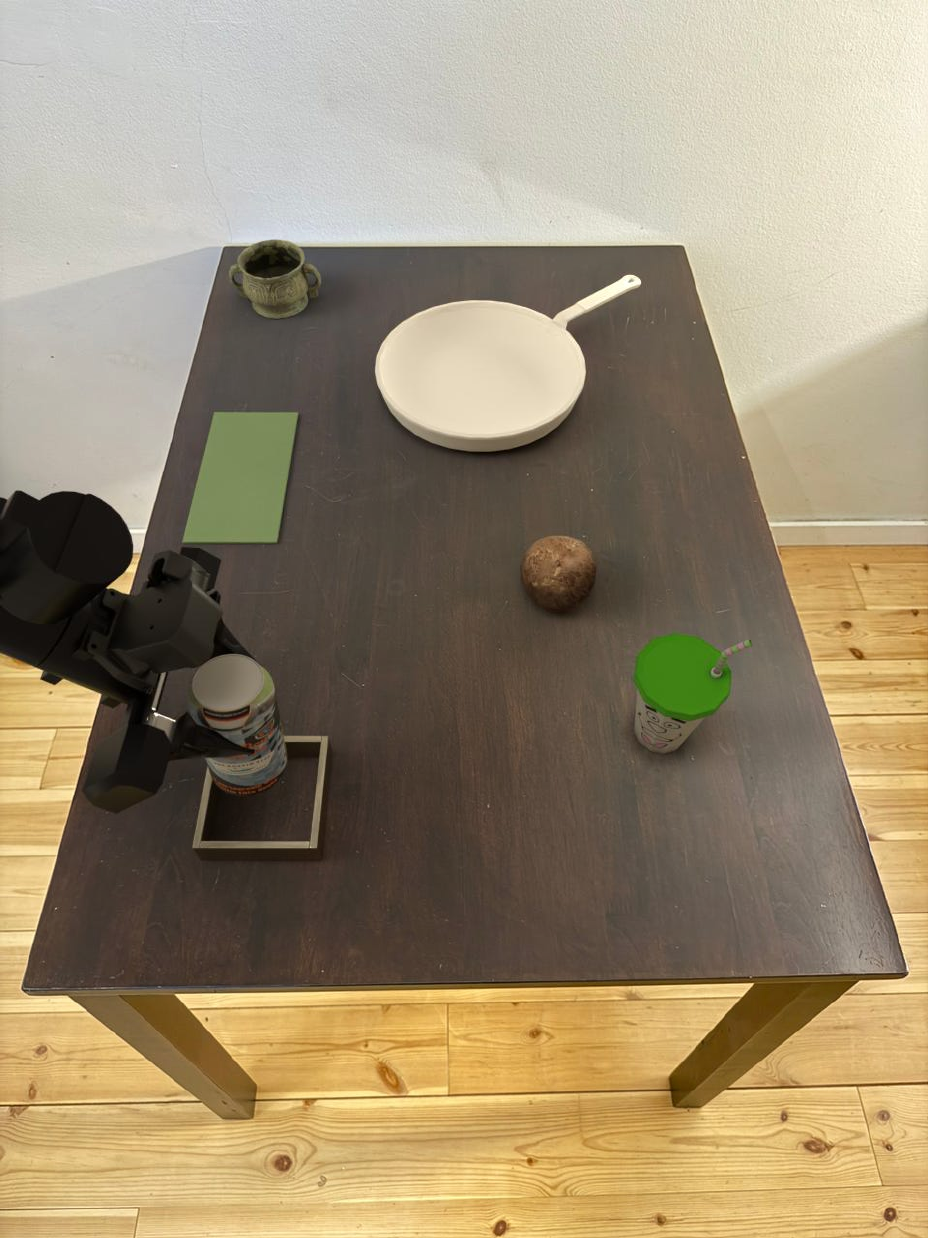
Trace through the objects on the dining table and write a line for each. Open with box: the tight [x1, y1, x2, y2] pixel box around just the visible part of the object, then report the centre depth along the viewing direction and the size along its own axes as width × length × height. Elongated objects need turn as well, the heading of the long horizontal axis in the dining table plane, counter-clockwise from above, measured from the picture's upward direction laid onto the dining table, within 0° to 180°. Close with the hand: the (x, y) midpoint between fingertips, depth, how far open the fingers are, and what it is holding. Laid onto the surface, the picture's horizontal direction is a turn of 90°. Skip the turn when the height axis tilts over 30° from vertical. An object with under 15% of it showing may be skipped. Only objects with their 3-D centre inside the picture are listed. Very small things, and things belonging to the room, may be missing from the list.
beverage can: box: [186, 654, 289, 797], centre depth 63 cm, size 6×7×12 cm
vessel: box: [228, 238, 322, 320], centre depth 111 cm, size 12×9×6 cm
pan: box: [374, 274, 642, 453], centre depth 104 cm, size 25×39×4 cm, turn 129°
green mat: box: [181, 411, 299, 545], centre depth 95 cm, size 10×20×1 cm, turn 0°
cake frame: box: [192, 735, 334, 861], centre depth 72 cm, size 10×10×3 cm
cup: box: [632, 632, 753, 755], centre depth 71 cm, size 8×8×15 cm
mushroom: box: [519, 535, 598, 613], centre depth 84 cm, size 8×8×6 cm
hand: (259, 715), depth 63 cm, fingers closed on beverage can, 6 cm apart
